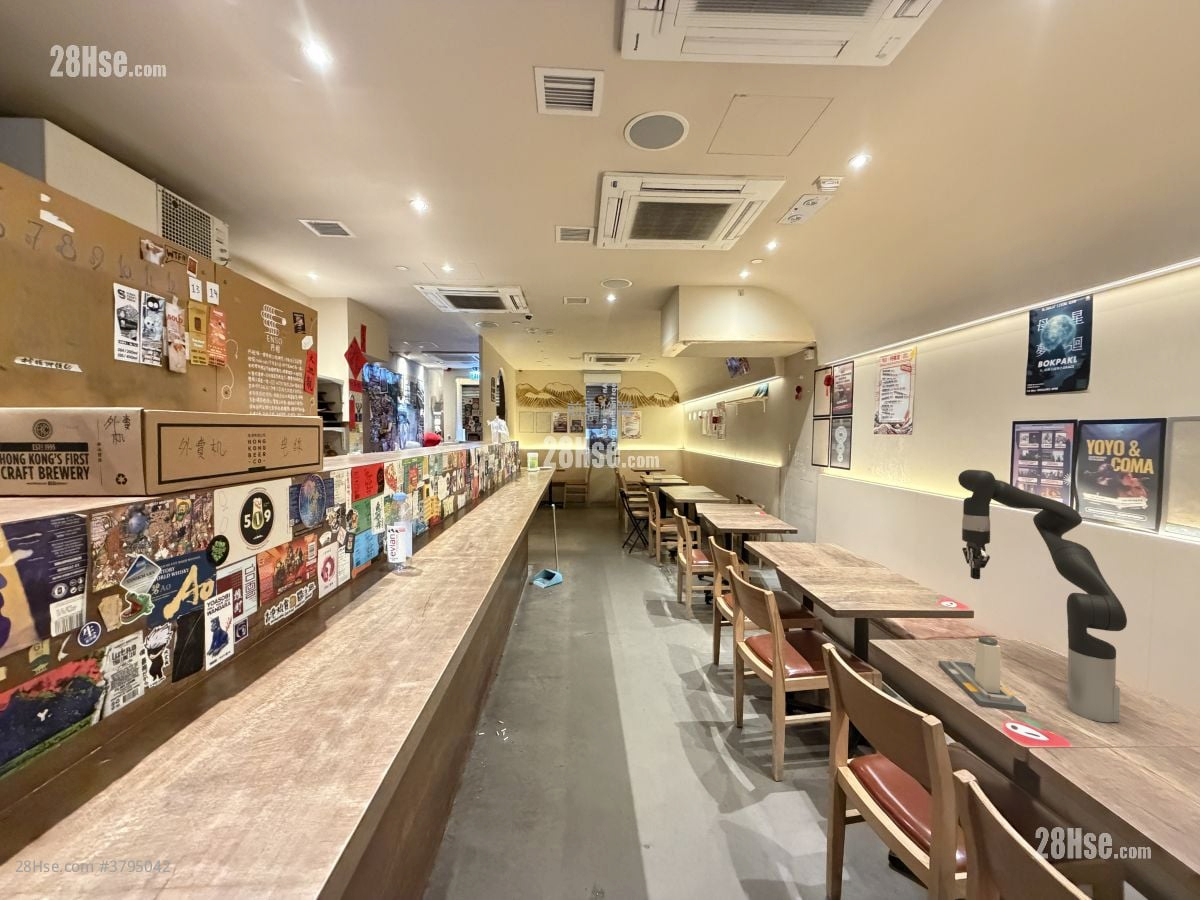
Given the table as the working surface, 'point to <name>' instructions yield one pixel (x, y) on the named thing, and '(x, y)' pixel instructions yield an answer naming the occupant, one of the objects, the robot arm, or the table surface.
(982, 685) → the slider knob
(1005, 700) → the switch panel
